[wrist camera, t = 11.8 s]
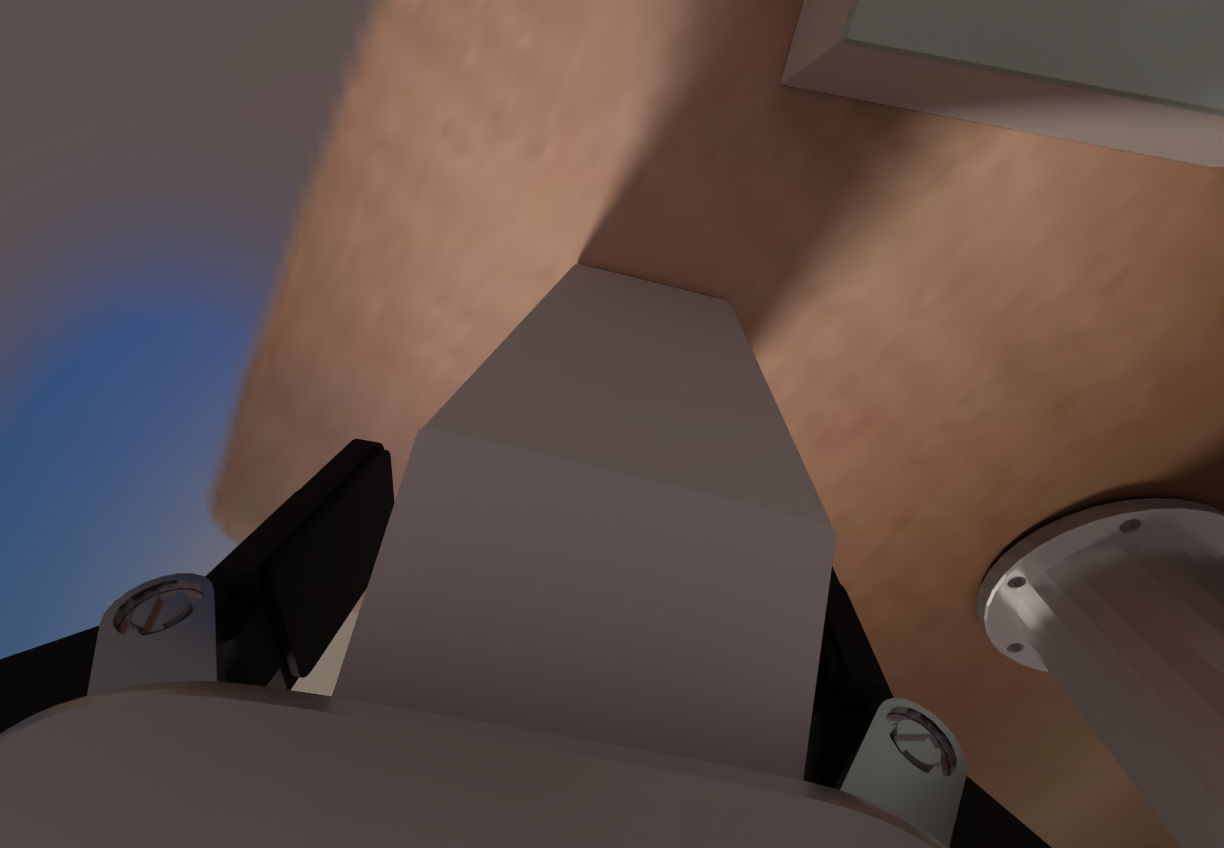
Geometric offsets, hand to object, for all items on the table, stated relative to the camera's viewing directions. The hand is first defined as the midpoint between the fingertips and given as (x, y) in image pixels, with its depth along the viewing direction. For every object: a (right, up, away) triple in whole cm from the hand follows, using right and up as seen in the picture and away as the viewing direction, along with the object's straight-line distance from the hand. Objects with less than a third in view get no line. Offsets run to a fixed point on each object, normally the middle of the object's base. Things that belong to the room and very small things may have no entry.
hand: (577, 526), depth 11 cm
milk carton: (+2, +6, +11) cm, 13 cm away
